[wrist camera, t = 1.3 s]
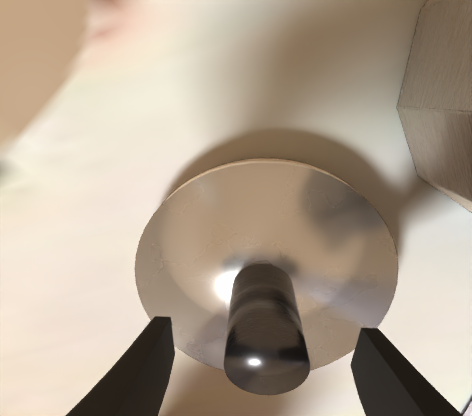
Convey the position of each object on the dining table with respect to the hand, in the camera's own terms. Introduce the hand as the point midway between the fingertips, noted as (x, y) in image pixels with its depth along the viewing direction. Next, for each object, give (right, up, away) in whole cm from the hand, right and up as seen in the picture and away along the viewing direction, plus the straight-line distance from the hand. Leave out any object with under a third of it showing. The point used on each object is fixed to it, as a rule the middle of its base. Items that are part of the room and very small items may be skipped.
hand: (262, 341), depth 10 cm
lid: (0, +2, +4) cm, 5 cm away
